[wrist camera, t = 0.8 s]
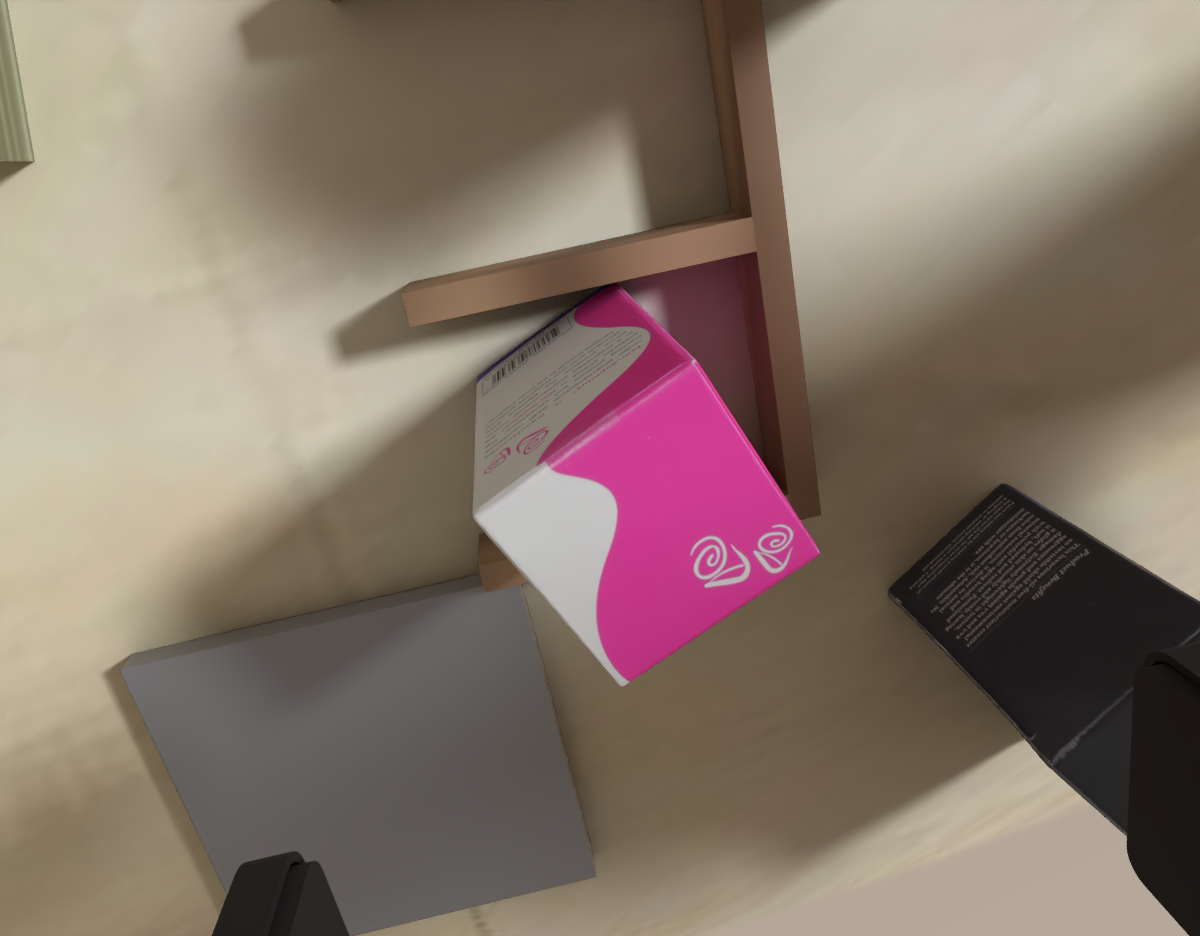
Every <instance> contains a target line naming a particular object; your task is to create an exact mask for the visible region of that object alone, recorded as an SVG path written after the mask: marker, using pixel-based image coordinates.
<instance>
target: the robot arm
mask: <svg viewBox="0 0 1200 936" xmlns="http://www.w3.org/2000/svg"><path fill="white" fill-rule="evenodd" d="M1127 853H1128V856H1129V860H1130V862H1131V865H1132V867H1133V869H1134V871H1135V873H1136V874H1137V876H1138V878H1139V879H1140V880H1141V882H1142V883H1143V884H1144V885H1145V886H1146V887H1147V889H1148V890H1149V891H1150V892H1151V893H1152V894H1153V896H1154V897H1155V898H1156V899H1157V900H1158V901H1159V902H1160V903H1161V905H1163V907H1164V908H1165V909H1166V910H1167V911H1168V912H1169V913H1170V915H1171V916H1172V917H1173V918H1174V919H1175V920H1176V921H1177V922H1178V924H1179V925H1180V926H1181V927H1182V928H1183V929H1184V930H1185V931H1186V932H1187V934H1188V935H1189V936H1200V641H1198V642H1193V643H1189V644H1185V645H1180V646H1176V647H1172V648H1167V649H1163V650H1159V651H1155V652H1152V653H1150V654H1148V656H1147V657H1146V659H1145V661H1144V666H1143V668H1142V669H1139V670H1137V672H1136V673H1135V676H1134V682H1133V706H1132V731H1131V755H1130V779H1129V803H1128V827H1127ZM212 936H349V933H348V931H347V928H346V926H345V923H344V921H343V918H342V916H341V913H340V911H339V908H338V906H337V903H336V901H335V898H334V896H333V893H332V891H331V889H330V886H329V884H328V881H327V879H326V876H325V874H324V871H323V869H322V867H321V865H320V863H318V862H317V861H311V862H305V860H304V859H303V857H302V855H301V854H300V853H299V852H297V851H292V852H287V853H283V854H279V855H274V856H270V857H266V858H261V859H257V860H253V861H248V862H244V863H243V864H242V865H241V866H239V868H238V870H237V872H236V874H235V876H234V878H233V881H232V884H231V886H230V889H229V892H228V894H227V897H226V900H225V902H224V905H223V908H222V910H221V913H220V915H219V918H218V921H217V923H216V926H215V929H214V931H213V934H212Z"/></svg>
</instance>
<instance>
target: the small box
mask: <svg viewBox="0 0 1200 936" xmlns="http://www.w3.org/2000/svg"><path fill="white" fill-rule="evenodd" d="M888 594H889V597H890V598H891V599H892V600H893V601H894V602H895V603H896V604H897V605H898V606H899V607H900V608H901V609H902V610H903V611H904V612H905V613H906V614H907V615H908V616H909V617H910V618H911V619H912V620H913V621H914V622H915V623H916V624H917V625H918V626H919V627H920V628H921V629H922V630H923V631H924V632H925V633H926V634H927V635H928V636H929V637H930V638H931V639H932V640H933V641H934V642H935V643H936V644H937V645H938V646H939V647H940V648H941V649H942V650H943V651H944V652H945V653H946V654H947V655H948V656H949V657H950V658H951V659H952V661H953V662H954V663H955V664H956V665H957V666H958V667H959V668H960V669H961V670H962V671H963V672H964V673H965V674H966V675H967V676H968V677H969V678H970V679H971V680H972V681H973V682H974V684H975V685H977V687H978V688H979V689H981V691H982V692H983V693H984V694H985V695H986V696H987V697H988V698H989V699H990V700H991V701H992V702H993V703H994V704H995V706H996V707H998V709H999V710H1000V711H1001V712H1002V713H1003V714H1004V715H1005V716H1006V717H1007V718H1008V719H1009V721H1010V722H1011V723H1012V724H1013V725H1014V726H1015V728H1016V729H1017V730H1018V731H1019V732H1020V734H1021V735H1022V736H1023V737H1024V738H1025V740H1026V741H1027V742H1028V743H1029V744H1030V745H1031V747H1032V748H1033V750H1034V751H1035V752H1036V753H1037V754H1038V756H1039V757H1040V758H1041V759H1042V760H1043V761H1044V762H1045V763H1046V765H1047V766H1048V767H1049V768H1051V769H1052V770H1053V771H1054V772H1055V773H1056V774H1057V775H1058V776H1060V777H1061V778H1062V779H1063V780H1064V781H1065V782H1066V783H1067V784H1068V785H1070V786H1071V787H1072V788H1073V789H1074V790H1075V791H1076V792H1077V793H1078V794H1079V795H1081V796H1082V797H1083V798H1084V799H1085V800H1086V801H1087V802H1088V803H1090V804H1091V805H1092V806H1093V807H1094V808H1095V809H1097V810H1098V811H1099V812H1100V813H1101V814H1102V815H1103V816H1104V817H1105V818H1107V819H1108V820H1109V821H1110V822H1111V823H1112V824H1113V825H1114V826H1116V827H1117V828H1118V829H1119V830H1120V831H1121V832H1122V833H1124V834H1125V835H1126V836H1127V827H1128V803H1129V779H1130V755H1131V731H1132V706H1133V682H1134V676H1135V673H1136V672H1137V670H1139V669H1142V668H1143V666H1144V661H1145V659H1146V657H1147V656H1148V654H1150V653H1152V652H1155V651H1159V650H1163V649H1167V648H1172V647H1176V646H1180V645H1185V644H1189V643H1193V642H1198V641H1200V601H1198V600H1196V599H1195V598H1193V597H1191V596H1190V595H1188V594H1186V593H1185V592H1183V591H1181V590H1180V589H1178V588H1176V587H1175V586H1173V585H1171V584H1170V583H1168V582H1167V581H1165V580H1163V579H1162V578H1160V577H1158V576H1157V575H1155V574H1154V573H1152V572H1150V571H1149V570H1147V569H1146V568H1144V567H1142V566H1141V565H1139V564H1137V563H1136V562H1134V561H1132V560H1131V559H1129V558H1127V557H1126V556H1124V555H1122V554H1121V553H1119V552H1117V551H1116V550H1114V549H1112V548H1111V547H1109V546H1107V545H1106V544H1104V543H1103V542H1101V541H1099V540H1098V539H1096V538H1095V537H1093V536H1091V535H1090V534H1088V533H1087V532H1085V531H1084V530H1082V529H1080V528H1079V527H1077V526H1075V525H1073V524H1072V523H1070V522H1068V521H1067V520H1065V519H1063V518H1062V517H1060V516H1058V515H1057V514H1055V513H1054V512H1052V511H1051V510H1049V509H1047V508H1046V507H1044V506H1043V505H1041V504H1039V503H1038V502H1036V501H1034V500H1033V499H1031V498H1030V497H1028V496H1026V495H1025V494H1023V493H1021V492H1020V491H1018V490H1016V489H1014V488H1013V487H1011V486H1009V485H1007V484H1001V485H1000V486H999V487H998V488H997V489H995V490H994V491H993V492H992V493H991V494H990V495H989V496H988V497H986V499H985V500H984V501H982V502H981V503H980V504H979V505H978V506H977V507H976V508H975V509H974V510H973V511H972V512H971V513H969V514H968V515H967V516H966V517H965V518H964V519H963V520H962V521H961V522H960V523H959V524H958V525H957V526H956V527H954V528H953V529H952V530H951V531H950V532H949V533H948V534H947V535H946V536H945V537H944V538H943V539H942V540H941V541H940V542H939V543H938V544H937V545H935V546H934V547H933V548H932V549H931V550H930V551H929V552H928V553H927V554H926V555H925V556H924V557H923V558H922V559H921V560H919V561H918V562H917V564H916V565H914V566H913V567H912V568H911V569H910V570H909V571H908V572H907V573H906V574H905V575H904V576H903V577H902V578H901V579H900V580H898V581H897V582H896V583H895V584H894V585H893V586H892V587H891V588H890V590H889V593H888Z"/></svg>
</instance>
